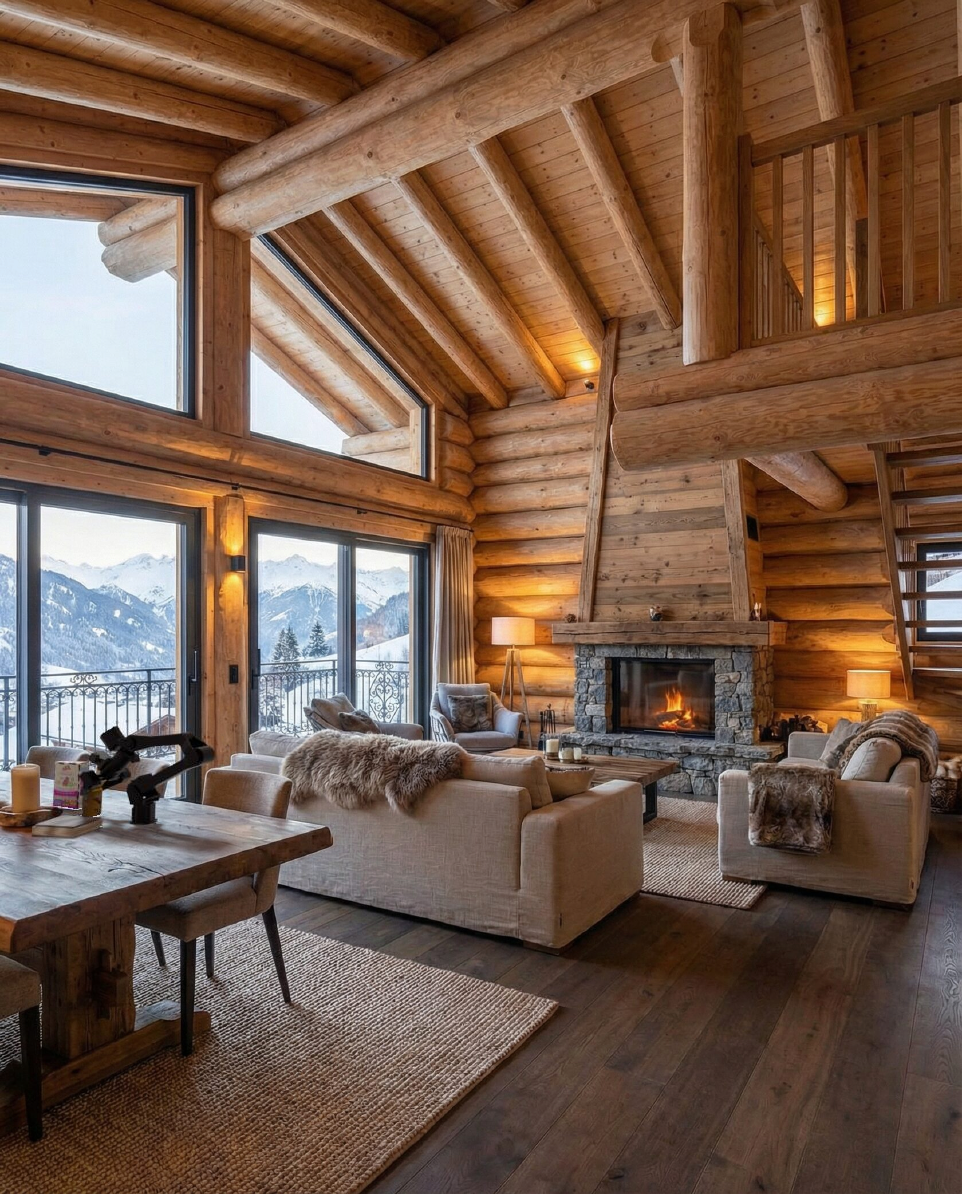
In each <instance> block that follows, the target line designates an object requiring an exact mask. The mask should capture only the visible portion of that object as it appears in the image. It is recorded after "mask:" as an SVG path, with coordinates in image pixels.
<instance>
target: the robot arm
mask: <svg viewBox="0 0 962 1194" xmlns="http://www.w3.org/2000/svg"><path fill="white" fill-rule="evenodd" d="M99 739H100V741H101V742H102V743H103V745H104V746H105V747H106V749H107V751H109V752H115V753H114V754H113V755H110V753H108V752H106V751H104V750H97V751H94V752H91V754H89V755H88V762H89V763H91V764H94V765H96V766H97V767H96V770H97V771H99V774H97V773H96V771H95V770H94V769H89V770H87V771H83V772H82V773H81V774H80V775H79V777H80V779H81V780H82V782H83V785H82V788H81V791H80V795H81V796H83V795H85V794H87V793H89V792H91V791H93V790H95V789H97V787H98V786H99V785H100V784H101V788H102V792H104V791H106V790H108V789H110V788H113V787H115V786H118V785H120V784H123V783H125V782H128V781H129V783H128V784H126V785H127V786H126V795H127V798H128V802H129V805H130V806H132V807H131V817H130V819H131V820H130V821H129V824H138V825H139V824H143V825H149V824H151V823H153V822H156V821H158V818H156V808H157V807H156V806H157V805H156V804H157V803H156V802H159V801H160V798H161V794H160V793H159V791H158V788H159V787H160V786H161V785H164V784H165V783H167V782H169V781H171V780H172V779H174V778H176V777H178V776H180V775H182V774H183V773H186V772H187V771H189V770H191V769H193V768H197V767H201V766H205V765H207V764H211V763H213V762H214V760H215V757H216V753H215V749H214V748H213V747H212V746H210V745H208V744H207V742H205V741H204V740H201V739H200V738H199V737H197V736H196V735H195V734H194V733H192V732H191V731H186V732H185V731H184V732H179V733H178V732H177V733H168V734H167V733H165V734H153V733H148V732H140V733H133V734H129V735H127V736H125V734H124V733H123V732H122V731H121V729H120V727H119V725H114V726H112V727H111V728H109V729H108V730H105V732H102V733H101V734H100V736H99ZM165 746H169V747H170V746H179V747H180V749H181V751H182V754H183V755H184V756H183V757H182V759H180V760H179V761H177V762H174V763H173V764H171V765H169V766H167V767H166V768H164V769H161V770H159V771H158V772H156V773H154V774H153V773H152V772H149V773H145V774H141V775H139V776H137V777H136V778H133V779H131V778H132V772H131V770H129V768H128V766H129V764H130V763H131V764H136V763H140V762H141V758H140V753H137V752H140V751H141V752H142V751H145V750H149V749H151V748H152V749H153V748H155V747H165ZM130 779H131V780H130ZM102 782H103V783H102Z"/></svg>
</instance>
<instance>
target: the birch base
mask: <svg viewBox="0 0 962 1194" xmlns="http://www.w3.org/2000/svg"><path fill="white" fill-rule="evenodd" d="M100 826H102V827H103V818H101V817H83V816H73V815H65V814H63V815H60V816H57V817H54V818H52V819H48V820H47V819H46V820H45V821H41V822H38V823H36V824H35V825H33V826H32V829H31V830H32V831H31V834H32V835H34V836H47V837H48V836H49V837H64V838H65V837H66V838H75V837H78V836H80V835H84V834H86V833H89V832H91V830H92V831H94V830H97V829H99V828H98V827H100ZM100 828H101V827H100Z"/></svg>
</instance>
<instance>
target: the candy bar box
mask: <svg viewBox="0 0 962 1194" xmlns="http://www.w3.org/2000/svg"><path fill="white" fill-rule="evenodd" d="M87 770H90V761H82V760H80V761H79V760H78V761H77V760H60V761H55V762H54V774H53V797H52V798H53V799H52V807H53V806H61V807H68V808H73V809H79V808H82V797H83V796H81V795H80V791H81V788H82V785H83V782H82V780H81V779H80V777H79V775H80V774H81V773H82V772H83V771H87Z"/></svg>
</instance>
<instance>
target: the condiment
mask: <svg viewBox="0 0 962 1194" xmlns="http://www.w3.org/2000/svg"><path fill="white" fill-rule="evenodd" d="M101 786H102V783H101V784H100V785H99V786H98V787H97V789H95V790H93V791H91V792H89V793H87V794H85V795H83V797H82V810H81V815H82V816H83V817H93V816H97V815H100V814H101V815H102V809H103V807H102V805H103V791H102V788H101Z"/></svg>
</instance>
